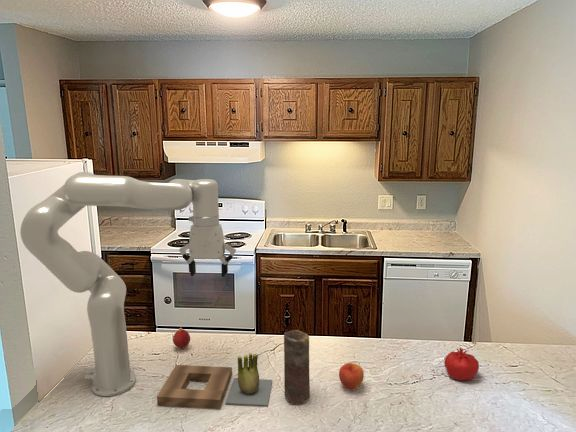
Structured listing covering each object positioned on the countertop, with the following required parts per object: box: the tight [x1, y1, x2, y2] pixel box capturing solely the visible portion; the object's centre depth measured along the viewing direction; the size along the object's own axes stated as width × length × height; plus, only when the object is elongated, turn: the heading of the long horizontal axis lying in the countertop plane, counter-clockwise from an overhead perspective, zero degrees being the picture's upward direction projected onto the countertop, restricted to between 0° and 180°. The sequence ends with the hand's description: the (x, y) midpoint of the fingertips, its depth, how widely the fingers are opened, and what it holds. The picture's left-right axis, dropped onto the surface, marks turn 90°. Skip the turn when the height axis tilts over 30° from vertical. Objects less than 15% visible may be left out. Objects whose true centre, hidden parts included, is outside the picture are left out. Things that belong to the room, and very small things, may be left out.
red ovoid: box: [172, 327, 191, 350], centre depth 149 cm, size 6×6×8 cm
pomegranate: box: [443, 347, 480, 381], centre depth 133 cm, size 10×10×9 cm
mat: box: [225, 377, 273, 408], centre depth 125 cm, size 12×12×1 cm
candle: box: [283, 329, 311, 405], centre depth 121 cm, size 8×7×20 cm
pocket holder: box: [156, 364, 233, 410], centre depth 126 cm, size 18×16×3 cm
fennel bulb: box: [236, 352, 260, 394], centre depth 124 cm, size 6×5×12 cm
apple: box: [338, 362, 365, 391], centre depth 127 cm, size 7×7×8 cm
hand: (208, 275), depth 130 cm, fingers open, 9 cm apart
